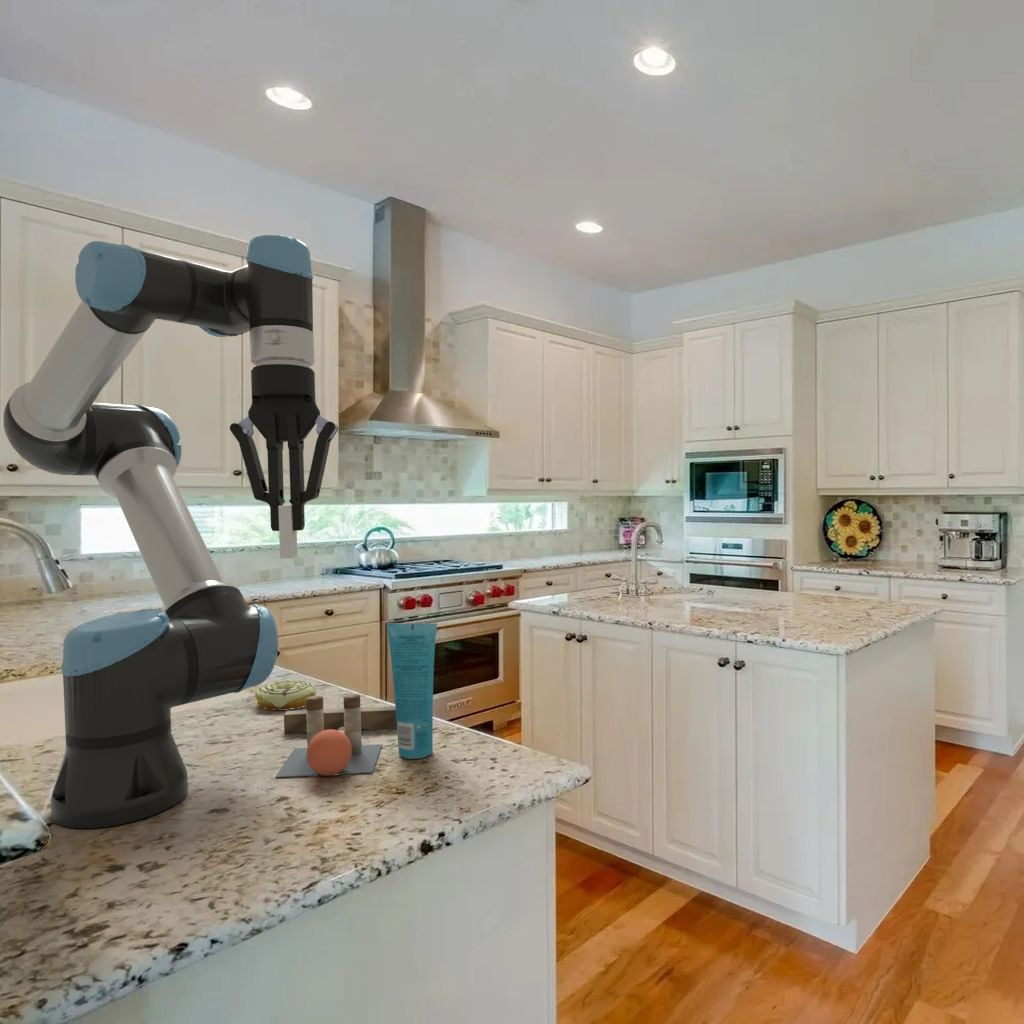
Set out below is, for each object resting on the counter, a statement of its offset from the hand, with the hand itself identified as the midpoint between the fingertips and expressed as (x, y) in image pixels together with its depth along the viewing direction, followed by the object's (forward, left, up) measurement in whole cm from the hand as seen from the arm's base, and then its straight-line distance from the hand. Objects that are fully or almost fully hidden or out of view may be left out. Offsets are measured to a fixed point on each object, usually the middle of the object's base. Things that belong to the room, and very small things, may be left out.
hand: (288, 557), depth 89 cm
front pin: (+2, +12, -29) cm, 32 cm away
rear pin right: (-1, +16, -30) cm, 34 cm away
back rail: (+2, +28, -30) cm, 41 cm away
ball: (+3, +8, -27) cm, 29 cm away
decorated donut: (-12, +44, -31) cm, 55 cm away
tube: (+14, +14, -31) cm, 37 cm away
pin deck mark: (+2, +13, -30) cm, 33 cm away
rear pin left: (+5, +16, -30) cm, 34 cm away
